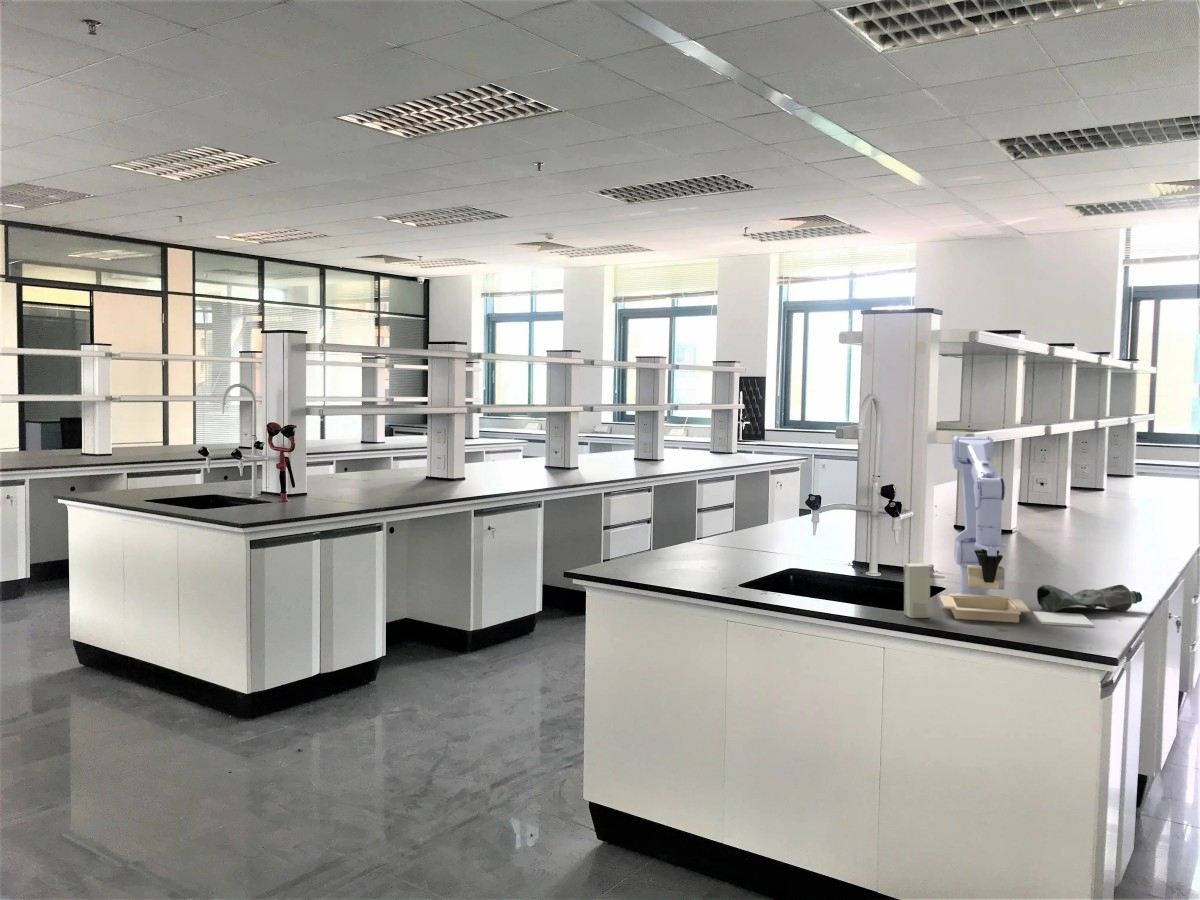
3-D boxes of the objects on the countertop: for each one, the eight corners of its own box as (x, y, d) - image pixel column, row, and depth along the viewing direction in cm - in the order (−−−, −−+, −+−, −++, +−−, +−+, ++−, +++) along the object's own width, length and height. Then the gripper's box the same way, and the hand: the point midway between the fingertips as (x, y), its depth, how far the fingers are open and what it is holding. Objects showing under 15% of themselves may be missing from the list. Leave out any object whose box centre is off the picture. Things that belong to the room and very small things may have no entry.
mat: (1033, 613, 220) (1033, 611, 220) (1082, 616, 217) (1082, 614, 217) (1041, 624, 210) (1042, 621, 210) (1093, 627, 207) (1093, 624, 207)
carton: (938, 603, 232) (938, 592, 232) (1018, 607, 227) (1018, 597, 227) (945, 620, 214) (945, 608, 214) (1032, 625, 209) (1032, 613, 208)
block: (967, 585, 223) (967, 565, 223) (1001, 586, 221) (1001, 566, 221) (969, 588, 219) (969, 568, 219) (1004, 589, 217) (1004, 569, 217)
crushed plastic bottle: (1051, 616, 217) (1156, 615, 216) (1050, 587, 218) (1155, 586, 216) (1028, 609, 230) (1127, 608, 229) (1027, 581, 231) (1126, 580, 229)
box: (923, 614, 220) (924, 562, 220) (930, 618, 216) (931, 565, 215) (902, 614, 220) (903, 562, 220) (909, 618, 216) (909, 566, 215)
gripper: (1011, 530, 211) (1010, 587, 212) (1001, 522, 225) (1000, 576, 226) (979, 529, 213) (978, 585, 214) (971, 521, 227) (971, 574, 228)
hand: (987, 580), depth 220 cm, fingers closed on block, 4 cm apart
